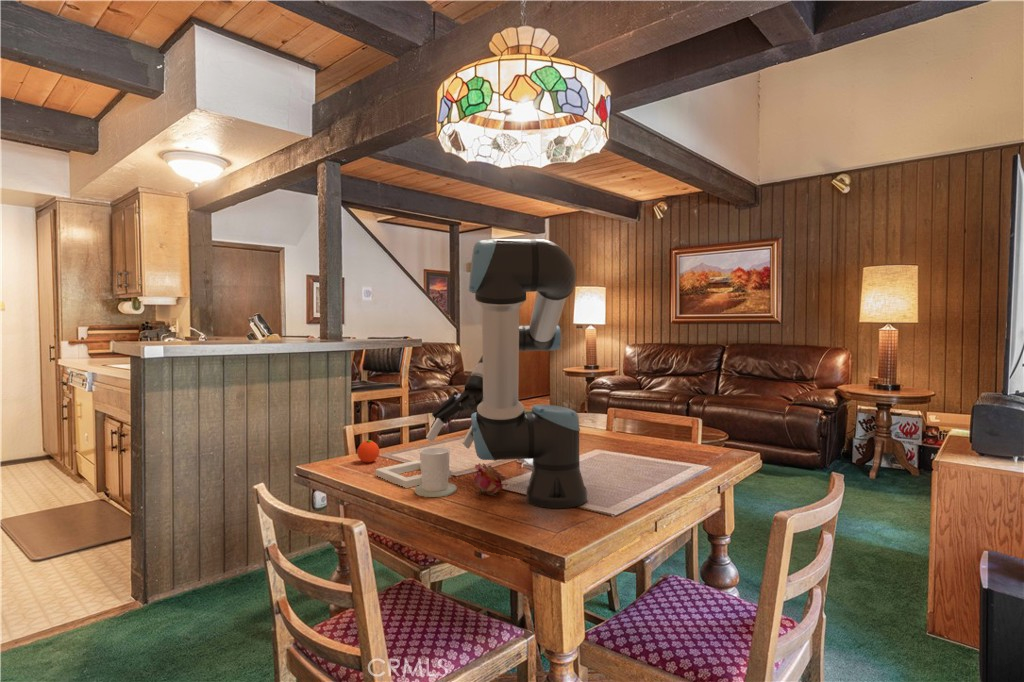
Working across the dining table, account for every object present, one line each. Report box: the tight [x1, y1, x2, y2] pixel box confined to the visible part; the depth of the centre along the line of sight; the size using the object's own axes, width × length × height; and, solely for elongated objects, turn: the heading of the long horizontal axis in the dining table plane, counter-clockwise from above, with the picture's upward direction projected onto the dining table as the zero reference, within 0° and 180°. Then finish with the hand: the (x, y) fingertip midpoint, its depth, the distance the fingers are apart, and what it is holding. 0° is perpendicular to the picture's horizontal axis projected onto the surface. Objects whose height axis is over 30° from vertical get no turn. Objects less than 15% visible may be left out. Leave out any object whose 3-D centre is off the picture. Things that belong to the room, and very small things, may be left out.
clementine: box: [356, 439, 380, 464], centre depth 178 cm, size 8×7×7 cm
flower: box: [472, 462, 509, 497], centre depth 143 cm, size 10×9×8 cm
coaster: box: [414, 482, 457, 498], centre depth 146 cm, size 11×11×1 cm
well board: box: [375, 459, 452, 489], centre depth 160 cm, size 17×15×2 cm
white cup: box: [419, 446, 451, 491], centre depth 146 cm, size 8×8×10 cm
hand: (446, 442), depth 150 cm, fingers open, 13 cm apart
